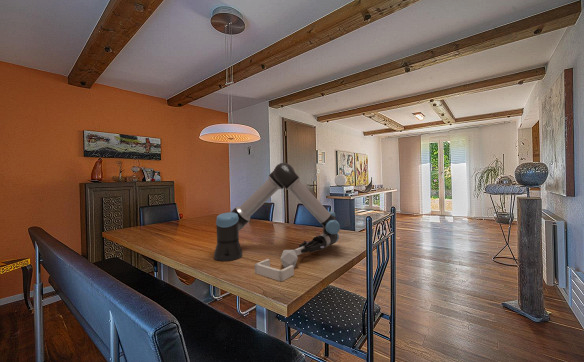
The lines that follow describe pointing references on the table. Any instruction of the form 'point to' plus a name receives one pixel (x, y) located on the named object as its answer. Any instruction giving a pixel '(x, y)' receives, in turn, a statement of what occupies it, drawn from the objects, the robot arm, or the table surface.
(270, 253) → the table surface
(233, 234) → the robot arm
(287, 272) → the grey u-shaped bracket
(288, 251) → the die
